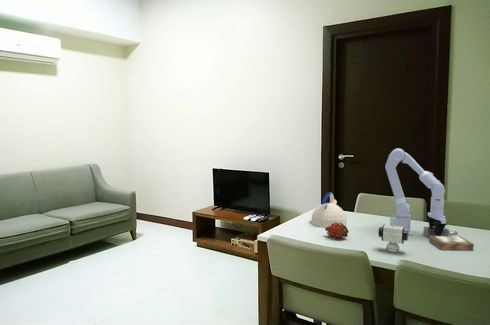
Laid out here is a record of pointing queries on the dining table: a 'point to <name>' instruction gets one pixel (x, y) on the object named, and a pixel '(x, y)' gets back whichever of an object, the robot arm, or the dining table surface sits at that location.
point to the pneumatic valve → (393, 236)
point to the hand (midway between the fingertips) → (435, 233)
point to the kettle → (328, 213)
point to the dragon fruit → (337, 230)
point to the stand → (451, 243)
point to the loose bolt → (453, 232)
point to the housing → (434, 231)
